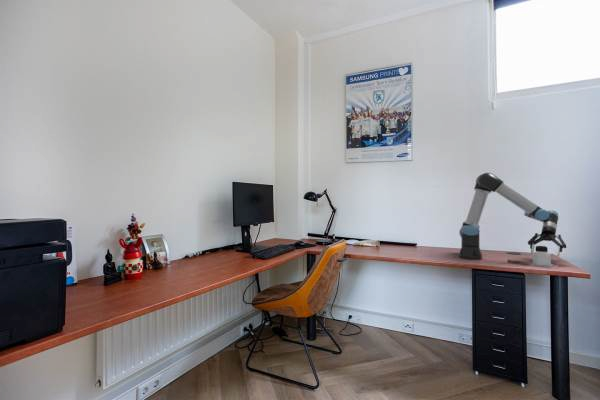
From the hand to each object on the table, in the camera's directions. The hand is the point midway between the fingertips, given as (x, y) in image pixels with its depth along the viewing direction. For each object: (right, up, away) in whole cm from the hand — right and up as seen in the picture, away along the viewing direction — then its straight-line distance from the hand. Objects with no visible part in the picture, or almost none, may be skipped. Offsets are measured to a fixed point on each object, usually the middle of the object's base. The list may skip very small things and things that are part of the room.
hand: (544, 254), depth 198 cm
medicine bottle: (-5, -6, -4) cm, 9 cm away
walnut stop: (-17, -7, +2) cm, 19 cm away
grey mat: (-5, -7, -4) cm, 9 cm away
